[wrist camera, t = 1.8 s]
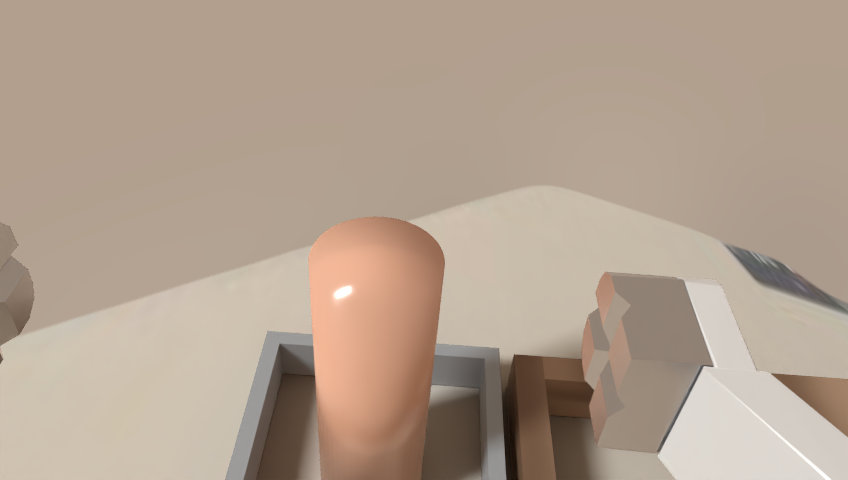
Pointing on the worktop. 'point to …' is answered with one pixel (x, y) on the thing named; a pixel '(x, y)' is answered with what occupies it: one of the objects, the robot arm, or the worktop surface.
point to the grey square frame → (298, 358)
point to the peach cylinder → (374, 346)
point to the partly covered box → (571, 395)
